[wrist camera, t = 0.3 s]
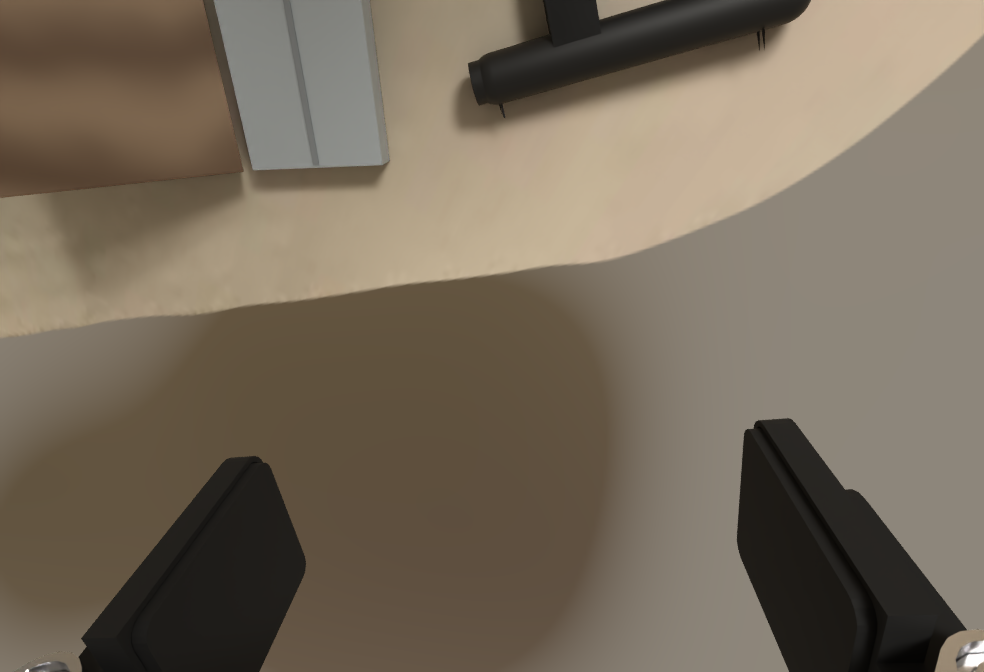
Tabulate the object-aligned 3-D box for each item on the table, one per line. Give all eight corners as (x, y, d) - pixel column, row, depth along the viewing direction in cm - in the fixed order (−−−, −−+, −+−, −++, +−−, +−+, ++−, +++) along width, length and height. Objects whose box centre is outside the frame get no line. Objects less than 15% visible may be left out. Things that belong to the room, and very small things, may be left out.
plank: (-153, -144, 26) (-177, -160, 25) (173, -119, 31) (171, -131, 30) (-6, 194, 33) (-17, 199, 31) (241, 168, 38) (243, 171, 37)
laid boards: (203, -117, 32) (183, -129, 30) (353, -131, 31) (341, -144, 29) (265, 165, 39) (252, 170, 37) (389, 160, 38) (382, 165, 36)
